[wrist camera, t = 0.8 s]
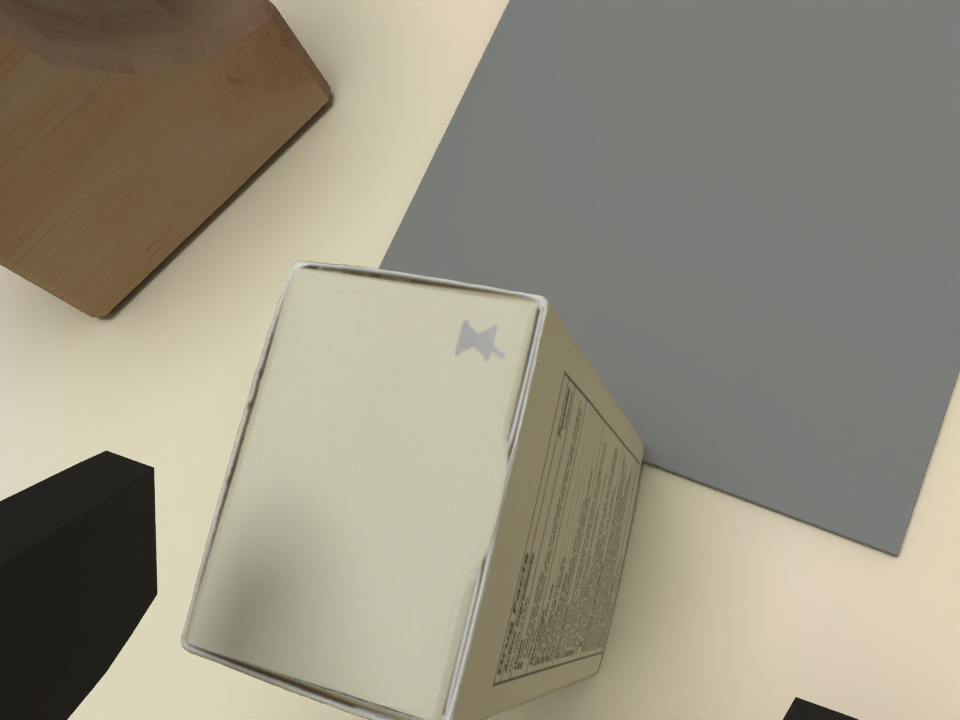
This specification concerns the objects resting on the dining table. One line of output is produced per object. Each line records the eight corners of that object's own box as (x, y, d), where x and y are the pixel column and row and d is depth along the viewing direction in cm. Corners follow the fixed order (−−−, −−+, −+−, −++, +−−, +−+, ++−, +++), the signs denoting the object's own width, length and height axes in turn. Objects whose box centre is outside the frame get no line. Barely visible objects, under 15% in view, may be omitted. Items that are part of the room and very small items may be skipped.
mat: (896, 556, 22) (898, 555, 22) (344, 350, 28) (340, 346, 28) (1076, 11, 25) (1080, 4, 25) (549, -72, 31) (547, -78, 31)
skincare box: (495, 411, 26) (290, 232, 14) (651, 442, 24) (559, 271, 13) (436, 645, 24) (157, 652, 13) (597, 693, 23) (442, 748, 11)
